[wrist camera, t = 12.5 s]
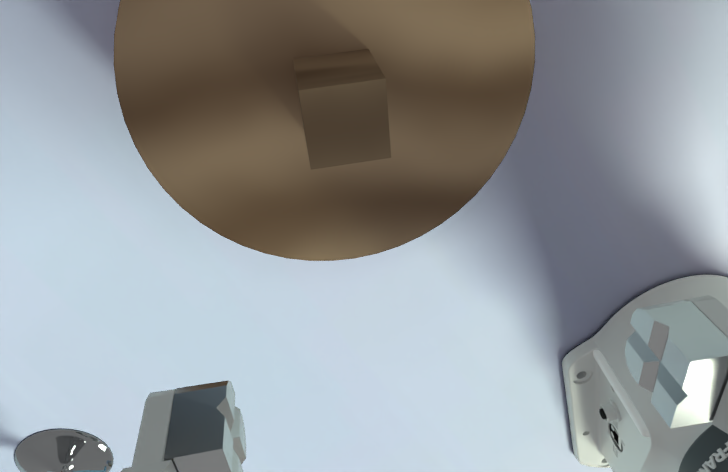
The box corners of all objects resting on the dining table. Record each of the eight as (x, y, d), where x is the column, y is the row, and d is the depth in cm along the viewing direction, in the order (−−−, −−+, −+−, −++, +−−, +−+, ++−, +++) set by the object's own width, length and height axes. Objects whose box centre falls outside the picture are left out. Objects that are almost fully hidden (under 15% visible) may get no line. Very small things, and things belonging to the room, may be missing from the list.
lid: (515, 221, 32) (553, 275, 28) (182, 274, 30) (170, 340, 26) (541, -183, 22) (608, -193, 18) (48, -132, 20) (-5, -130, 16)
